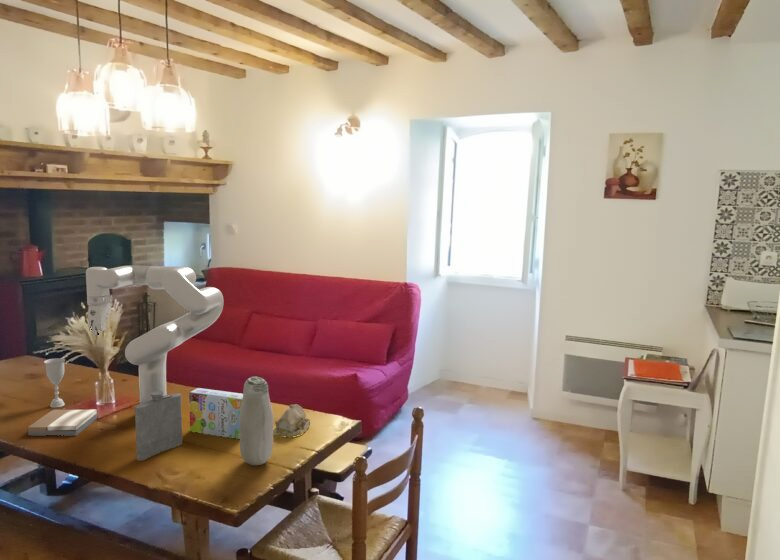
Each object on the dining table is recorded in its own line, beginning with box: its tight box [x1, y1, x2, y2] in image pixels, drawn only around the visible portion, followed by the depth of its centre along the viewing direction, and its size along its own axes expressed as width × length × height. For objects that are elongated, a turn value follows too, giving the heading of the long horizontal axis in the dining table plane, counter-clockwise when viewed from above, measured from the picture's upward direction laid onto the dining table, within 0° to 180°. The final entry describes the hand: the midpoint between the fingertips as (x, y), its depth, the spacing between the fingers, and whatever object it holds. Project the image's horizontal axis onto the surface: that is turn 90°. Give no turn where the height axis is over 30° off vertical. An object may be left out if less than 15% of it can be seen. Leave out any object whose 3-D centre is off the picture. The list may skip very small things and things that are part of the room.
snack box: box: [189, 387, 243, 440], centre depth 196 cm, size 21×6×15 cm, turn 74°
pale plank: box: [47, 408, 98, 431], centre depth 198 cm, size 10×15×2 cm, turn 3°
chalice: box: [43, 357, 66, 409], centre depth 216 cm, size 7×7×18 cm
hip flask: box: [134, 391, 183, 462], centre depth 181 cm, size 16×4×20 cm, turn 146°
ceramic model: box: [273, 403, 311, 438], centre depth 200 cm, size 14×11×10 cm
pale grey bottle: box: [239, 376, 274, 466], centre depth 174 cm, size 10×10×28 cm
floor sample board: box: [27, 409, 99, 437], centre depth 198 cm, size 16×16×3 cm
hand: (100, 347), depth 210 cm, fingers closed
